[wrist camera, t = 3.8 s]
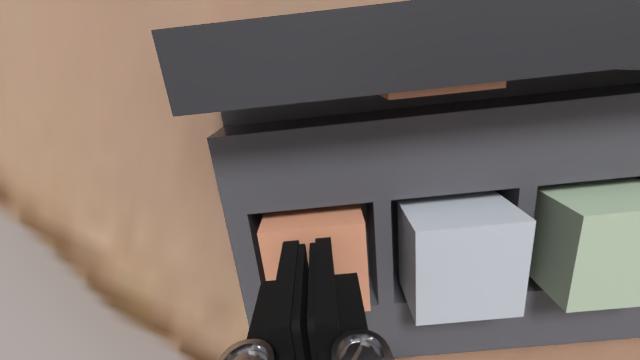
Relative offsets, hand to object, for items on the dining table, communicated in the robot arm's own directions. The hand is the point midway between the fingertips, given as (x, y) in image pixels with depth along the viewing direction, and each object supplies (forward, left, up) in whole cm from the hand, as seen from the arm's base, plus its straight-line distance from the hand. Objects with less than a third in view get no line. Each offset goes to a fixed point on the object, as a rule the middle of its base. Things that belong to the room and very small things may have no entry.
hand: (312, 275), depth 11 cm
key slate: (-5, 0, -2) cm, 5 cm away
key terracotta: (0, 0, -2) cm, 2 cm away
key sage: (-10, 0, -2) cm, 10 cm away
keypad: (-8, -1, -4) cm, 9 cm away
